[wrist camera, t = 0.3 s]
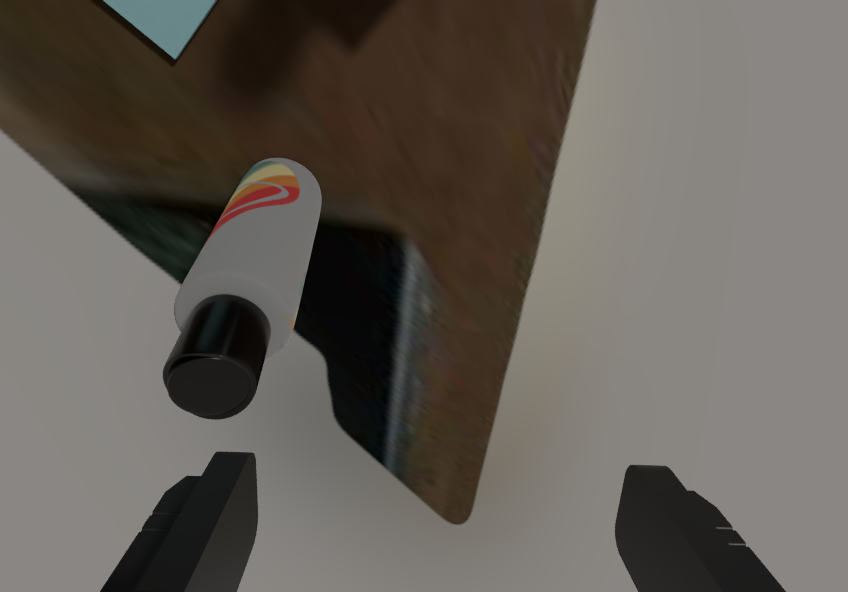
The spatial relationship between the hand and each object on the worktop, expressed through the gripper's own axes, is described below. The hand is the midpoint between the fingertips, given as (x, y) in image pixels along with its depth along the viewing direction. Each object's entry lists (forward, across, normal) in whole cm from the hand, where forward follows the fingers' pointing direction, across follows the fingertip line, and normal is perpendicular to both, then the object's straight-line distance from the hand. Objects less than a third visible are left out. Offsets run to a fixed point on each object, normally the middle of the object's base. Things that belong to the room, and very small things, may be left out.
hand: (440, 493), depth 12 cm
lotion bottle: (+30, +10, -2) cm, 31 cm away
